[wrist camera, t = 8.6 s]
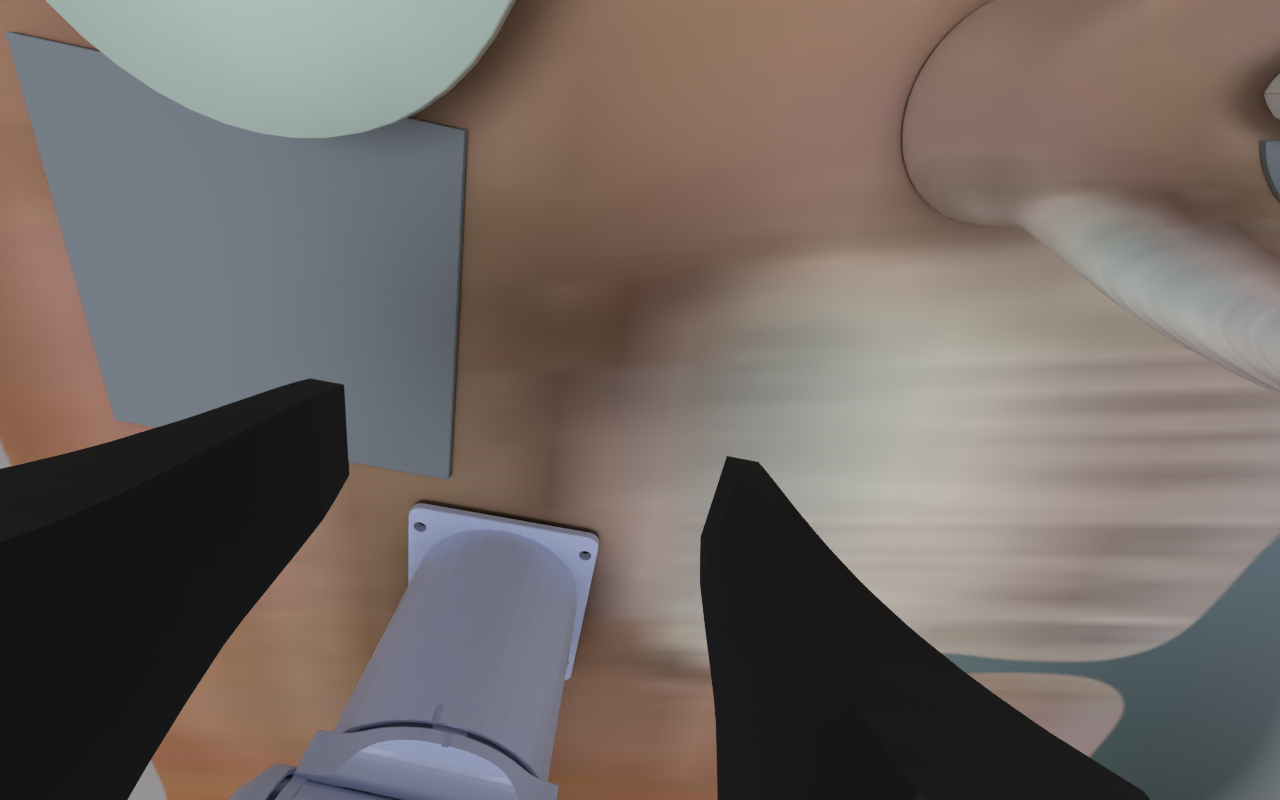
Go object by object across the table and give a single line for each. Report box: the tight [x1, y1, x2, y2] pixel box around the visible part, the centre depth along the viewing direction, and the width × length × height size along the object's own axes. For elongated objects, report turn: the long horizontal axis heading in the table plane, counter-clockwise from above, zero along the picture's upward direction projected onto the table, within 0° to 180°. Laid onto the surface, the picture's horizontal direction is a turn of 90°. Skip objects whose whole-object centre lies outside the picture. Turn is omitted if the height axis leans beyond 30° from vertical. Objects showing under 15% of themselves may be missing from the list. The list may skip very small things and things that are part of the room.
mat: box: [6, 32, 467, 480], centre depth 20 cm, size 13×13×1 cm
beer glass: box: [902, 0, 1280, 394], centre depth 10 cm, size 7×7×15 cm
